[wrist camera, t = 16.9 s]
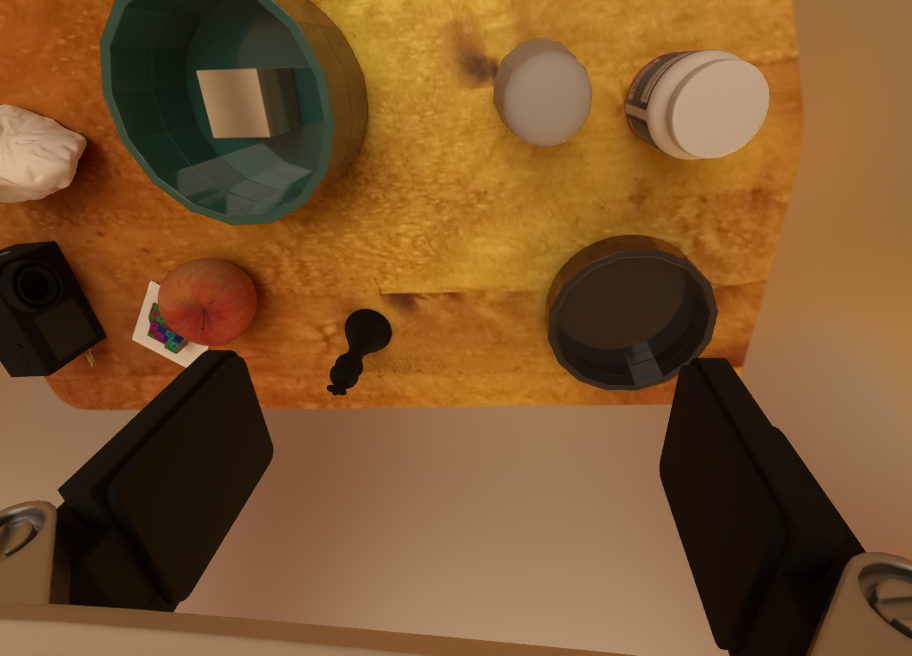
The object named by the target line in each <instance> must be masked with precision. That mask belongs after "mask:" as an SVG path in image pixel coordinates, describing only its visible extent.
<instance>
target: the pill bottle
mask: <svg viewBox="0 0 912 656" xmlns="http://www.w3.org/2000/svg"><path fill="white" fill-rule="evenodd" d="M769 97H770V96H769V88H768V84H767V81H766V79H765V77H764V76H763V74H762V73H761V72H760V70H758V69H757V68H756V67H755V66H753V65H752V64H750V63H748V62H745V61H742V60H741V59H740V58H738V57H737V56H735V55H733V54H731V53H729V52H726V51H721V50H700V51H688V52H674V53H669V54H665V55H662V56H660V57H657V58H655V59H654V60H652V61H651V62H649V63H648V64H647V65H645V66H644V67H643V68H642V69H641V70H640V71H639V72H638V74H637V75H636V76H635V78H634V79H633V81H632V83H631V85H630V87H629V90H628V93H627V96H626V102H625V113H626V118H627V121H628V124H629V126H630V128H631V129H632V131H633V132H634V133H635V134H636V135H637V136H638V137H639V138H640V139H642V140H643V141H645V142H647V143H649V144H650V145H652V146H654V147H656V148H657V149H659V150H661V151H663V152H664V153H666V154H668V155H670V156H673V157H676V158H679V159H686V160H694V159H701V158H705V159H712V158H719V157H723V156H726V155H729V154H731V153H733V152H735V151H737V150H738V149H740V148H742V147H743V146H744V145H746V144H747V143H748V142H749V141H750V140H751V139H752V138H753V137H754V135H755V134H756V133H757V132H758V130H759V129H760V127H761V126H762V124H763V122H764V119H765V117H766V115H767V111H768V107H769Z"/></svg>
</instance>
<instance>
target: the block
mask: <svg viewBox="0 0 912 656" xmlns="http://www.w3.org/2000/svg"><path fill="white" fill-rule="evenodd" d="M196 72H197V76H198V80H199V84H200V88H201V92H202V95H203V99H204V103H205V107H206V111H207V114H208V118H209V122H210V126H211V130H212V133H213V137H214V138H270V137H273V136H276V135H279V134H282V133H285V132H288V131H291V130H295V129H298V128H301V127H302V123H301V117H300V111H299V106H298V100H297V94H296V89H295V83H294V77H293V71H292V67H274V68H244V69H216V70H197V71H196Z"/></svg>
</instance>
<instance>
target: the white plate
mask: <svg viewBox="0 0 912 656" xmlns="http://www.w3.org/2000/svg"><path fill="white" fill-rule="evenodd" d="M159 288H160V285H158V284H157V283H155V282H153V281H150V284H149V287H148V290H147V293H146V296H145V300H144V303H143V306H142V309H141V312H140V315H139V318H138V322H137V325H136V328H135V331H134V334H133V337H132V340H134V341H136V342H138V343H140V344H142V345H144V346H146V347H147V348H149V349H151V350H153V351H155V352H157V353H159V354H161V355H163V356H165V357H166V358H168V359H170V360H172V361H174V362H176V363H178V364H180V365H182V366H184V367H186V368H187V367H188V366H189V365H190V364H191V363H192V362H193V361H194V360H195V359H196V358H197V357H199V356H200V355H201V354H202V353H203V352H205V351H207V349H208V347H209V346H203V345H199V344H196V343H193V342H191V341H189V340H187V339H185V338H183V337H181V336H180V335H178V334H177V333H176V332H174V331H173V330H172V329H171V328H170V327H169V326H168V325H167V324H166V322H165V321H164V319H163V318H162V316H161V313H160V311H159V307H158V291H159Z"/></svg>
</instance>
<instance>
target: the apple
mask: <svg viewBox="0 0 912 656" xmlns="http://www.w3.org/2000/svg"><path fill="white" fill-rule="evenodd" d="M158 307H159V311H160V313H161V316H162V318H163V319H164V321H165V322H166V324H167V325H168V326H169V327H170V328H171V329H172V330H173V331H174V332H176V333H177V334H178V335H180V336H181V337H183V338H185V339H187V340H189V341H191V342H193V343H196V344H199V345H203V346H221V345H225V344H227V343H230V342H232V341H233V340H235V339H236V338H238V337H239V336H240V335H242V334H243V333H244V332H245V331H246V329H247V328H248V327H249V326H250V324H251V322H252V320H253V318H254V315H255V312H256V307H257V294H256V289H255V286H254V284H253V281H252V280H251V278H250V277H249V276H248V275H247V274H246V273H245V272H244V271H243V270H242V269H240V268H239V267H237V266H236V265H234V264H232V263H230V262H227V261H224V260H219V259H198V260H193V261H190V262H187V263H184V264H182V265H180V266H179V267H177V268H176V269H174V270H173V271H172V272H170V273H169V274H168V275H167V277H166V278H165V279H164V280H163V282H162V284H161V286H160V288H159V291H158Z"/></svg>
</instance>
